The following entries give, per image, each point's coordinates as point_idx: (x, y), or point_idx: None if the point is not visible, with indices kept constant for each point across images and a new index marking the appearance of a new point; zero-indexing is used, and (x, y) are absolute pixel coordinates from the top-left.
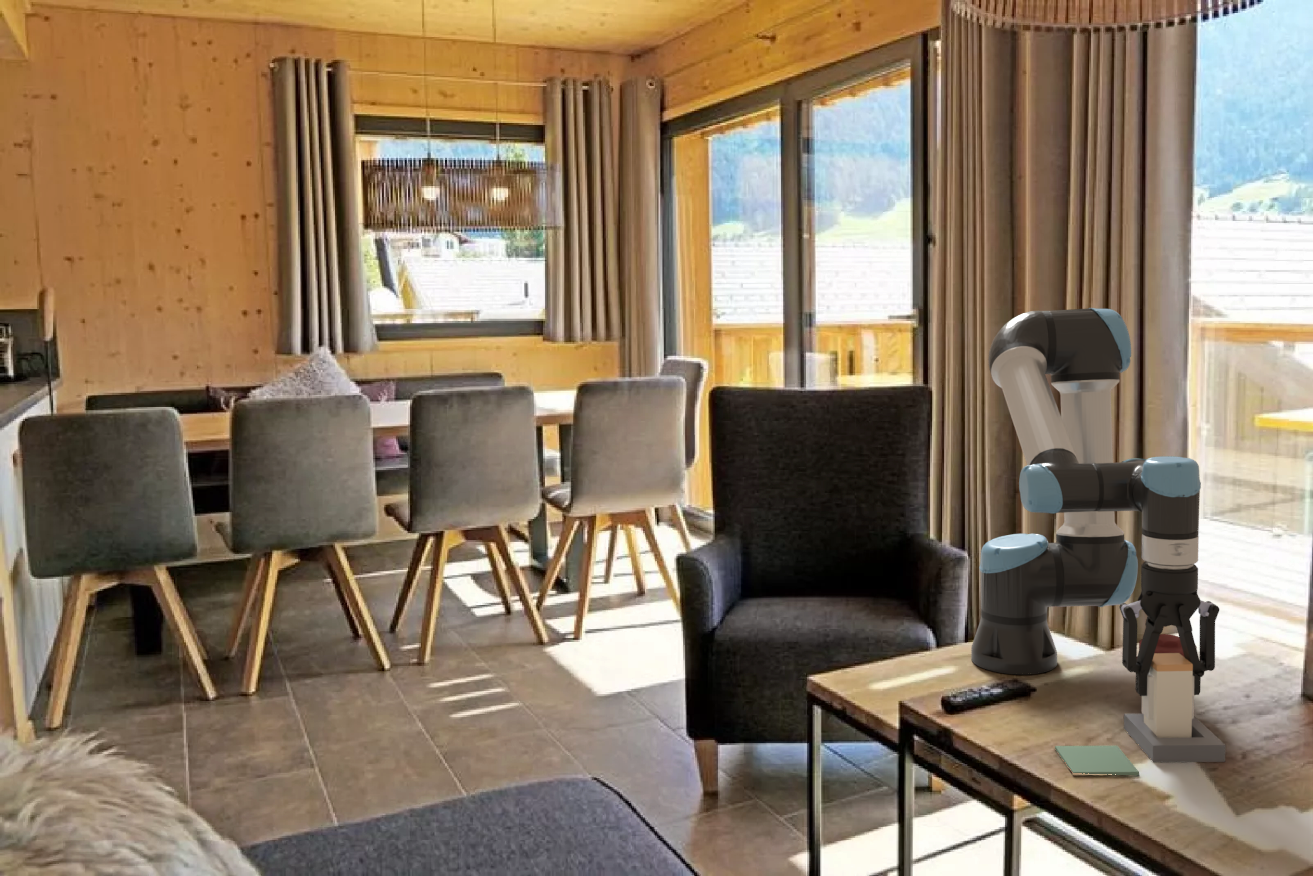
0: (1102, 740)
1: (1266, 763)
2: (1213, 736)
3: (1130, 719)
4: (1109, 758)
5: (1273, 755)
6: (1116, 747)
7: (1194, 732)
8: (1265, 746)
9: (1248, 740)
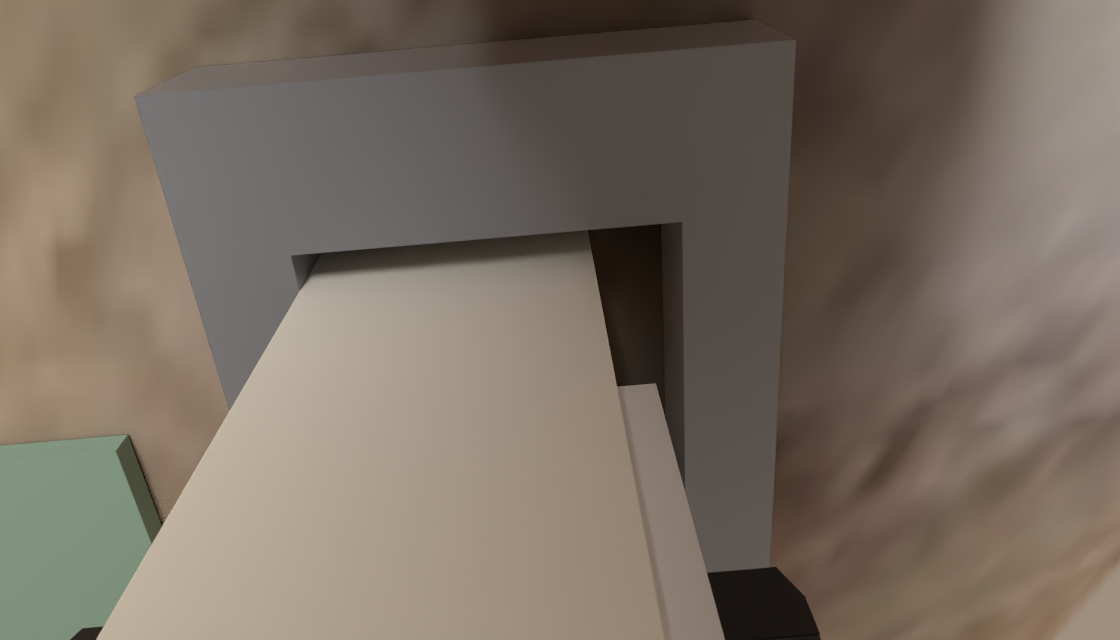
0: (25, 295)
1: (959, 537)
2: (754, 510)
3: (188, 238)
4: (67, 616)
5: (1070, 439)
6: (110, 481)
7: (677, 357)
8: (1116, 316)
9: (1070, 224)
